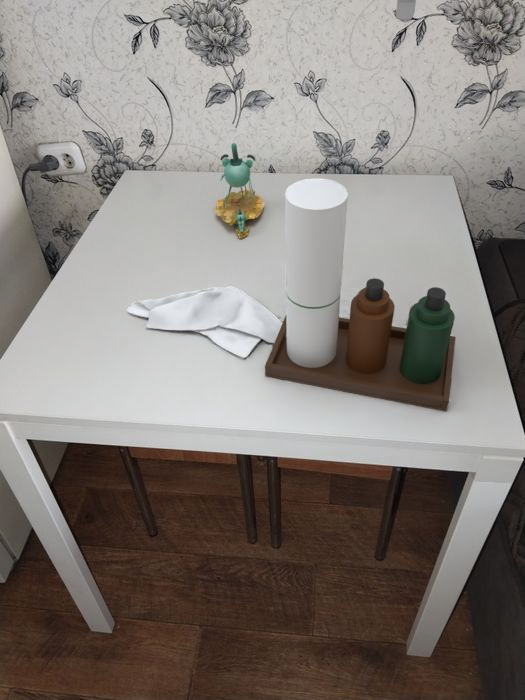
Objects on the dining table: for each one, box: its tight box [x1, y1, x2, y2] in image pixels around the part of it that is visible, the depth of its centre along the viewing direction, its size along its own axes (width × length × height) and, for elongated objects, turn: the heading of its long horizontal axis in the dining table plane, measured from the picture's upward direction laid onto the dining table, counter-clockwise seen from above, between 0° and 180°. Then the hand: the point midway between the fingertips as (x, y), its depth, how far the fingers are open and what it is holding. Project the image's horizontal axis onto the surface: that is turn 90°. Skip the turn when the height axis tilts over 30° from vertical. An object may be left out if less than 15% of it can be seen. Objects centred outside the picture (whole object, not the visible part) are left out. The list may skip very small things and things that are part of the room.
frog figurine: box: [214, 142, 266, 239], centre depth 109 cm, size 10×18×15 cm, turn 169°
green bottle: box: [400, 286, 456, 384], centre depth 77 cm, size 6×6×14 cm
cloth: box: [126, 285, 287, 359], centre depth 91 cm, size 26×14×2 cm, turn 63°
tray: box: [264, 315, 457, 412], centre depth 83 cm, size 25×13×2 cm, turn 73°
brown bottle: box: [346, 277, 396, 374], centre depth 78 cm, size 6×6×14 cm
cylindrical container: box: [284, 177, 349, 368], centre depth 76 cm, size 7×7×25 cm
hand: (410, 5), depth 66 cm, fingers open, 8 cm apart
